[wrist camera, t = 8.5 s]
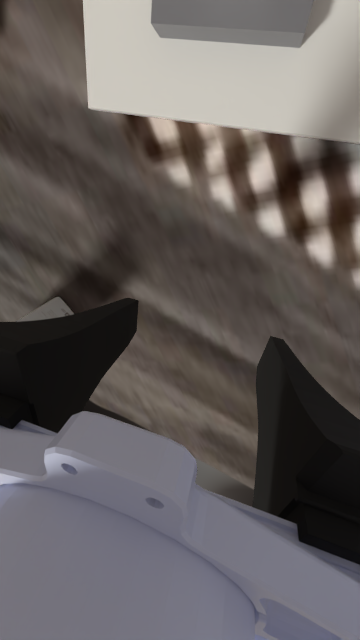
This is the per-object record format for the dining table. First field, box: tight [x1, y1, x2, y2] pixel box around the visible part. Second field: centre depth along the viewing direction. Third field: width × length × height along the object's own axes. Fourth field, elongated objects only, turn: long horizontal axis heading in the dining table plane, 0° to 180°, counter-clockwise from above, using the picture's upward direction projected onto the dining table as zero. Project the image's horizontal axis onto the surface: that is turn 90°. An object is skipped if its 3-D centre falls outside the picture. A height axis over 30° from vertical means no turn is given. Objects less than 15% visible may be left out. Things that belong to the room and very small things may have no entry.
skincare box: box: [16, 297, 74, 322], centre depth 23 cm, size 6×4×12 cm
